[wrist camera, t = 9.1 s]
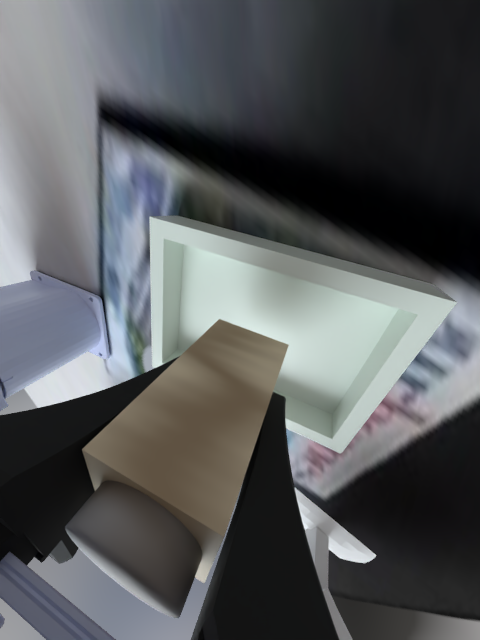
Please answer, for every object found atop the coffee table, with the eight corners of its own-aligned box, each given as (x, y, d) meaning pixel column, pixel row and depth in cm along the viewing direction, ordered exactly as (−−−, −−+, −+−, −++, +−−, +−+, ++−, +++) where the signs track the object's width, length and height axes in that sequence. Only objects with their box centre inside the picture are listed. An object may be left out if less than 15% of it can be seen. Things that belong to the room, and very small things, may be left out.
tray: (171, 349, 21) (152, 366, 19) (177, 215, 15) (149, 216, 13) (340, 421, 18) (340, 453, 16) (432, 283, 12) (457, 302, 9)
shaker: (210, 371, 14) (72, 551, 7) (219, 318, 12) (37, 491, 5) (269, 396, 13) (185, 637, 6) (288, 344, 11) (200, 607, 4)
